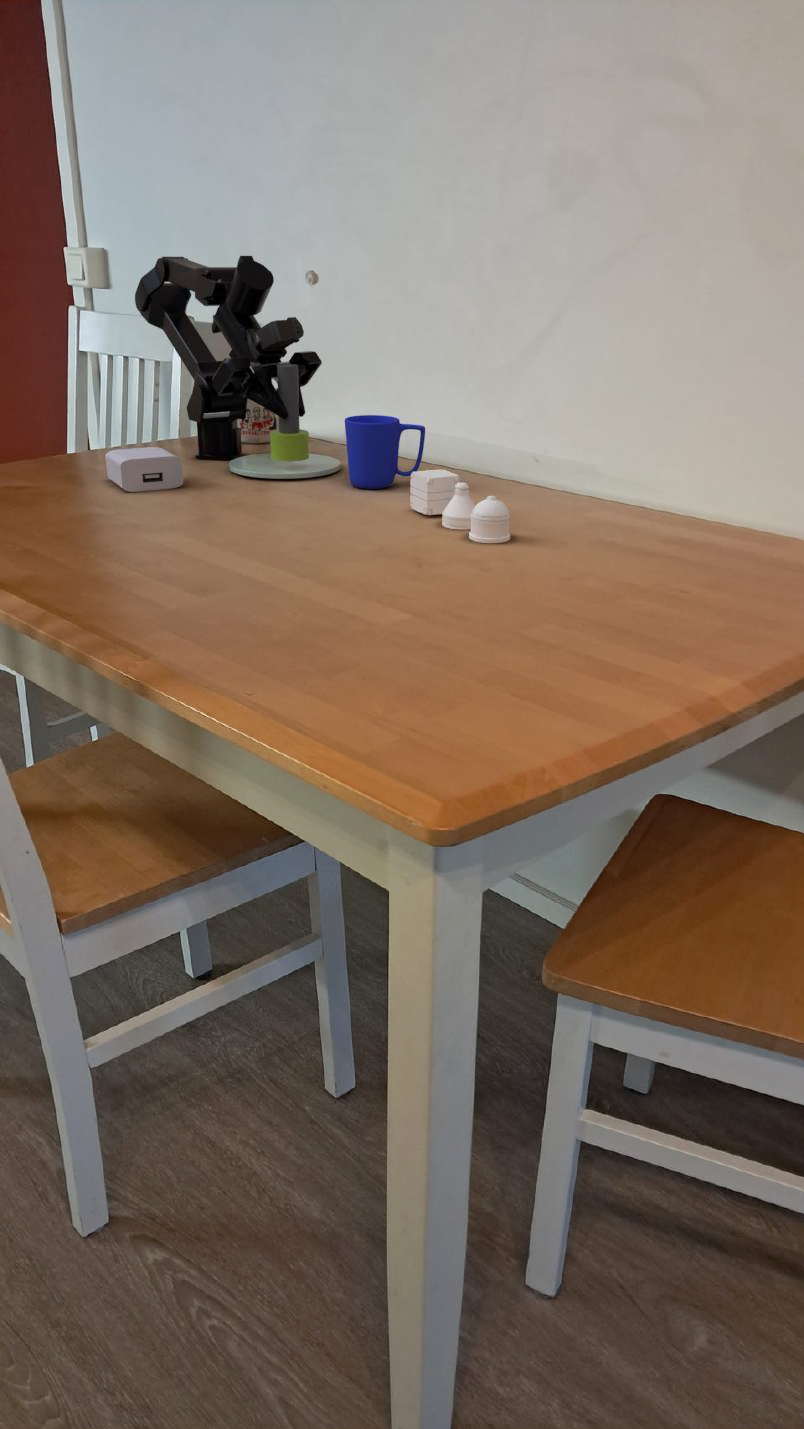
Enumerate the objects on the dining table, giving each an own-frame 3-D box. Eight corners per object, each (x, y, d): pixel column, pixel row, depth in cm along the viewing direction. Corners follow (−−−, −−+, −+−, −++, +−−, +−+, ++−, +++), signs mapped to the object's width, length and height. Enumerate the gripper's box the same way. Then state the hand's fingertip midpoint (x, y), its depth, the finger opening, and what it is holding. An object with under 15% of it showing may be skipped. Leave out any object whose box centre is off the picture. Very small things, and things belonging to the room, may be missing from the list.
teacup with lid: (237, 445, 194) (234, 378, 189) (227, 437, 201) (224, 372, 197) (301, 442, 197) (299, 376, 193) (289, 434, 205) (287, 371, 201)
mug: (423, 492, 159) (425, 424, 155) (343, 491, 159) (342, 422, 155) (424, 481, 167) (425, 415, 163) (347, 480, 167) (346, 414, 163)
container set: (409, 510, 148) (409, 471, 146) (442, 507, 150) (443, 468, 148) (482, 545, 132) (484, 501, 130) (518, 540, 134) (520, 497, 132)
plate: (214, 478, 167) (214, 470, 166) (247, 457, 183) (246, 450, 182) (327, 483, 164) (326, 475, 164) (349, 462, 180) (349, 454, 180)
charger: (155, 469, 173) (183, 487, 161) (97, 474, 169) (123, 492, 157) (152, 439, 171) (181, 455, 159) (94, 443, 167) (119, 460, 155)
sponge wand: (271, 461, 166) (268, 367, 160) (270, 454, 171) (267, 363, 165) (310, 461, 166) (308, 367, 161) (307, 453, 172) (305, 362, 166)
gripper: (219, 300, 155) (273, 386, 153) (312, 297, 168) (363, 376, 166) (189, 353, 163) (240, 435, 161) (280, 345, 176) (328, 422, 174)
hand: (294, 416), depth 165 cm, fingers closed on sponge wand, 3 cm apart
